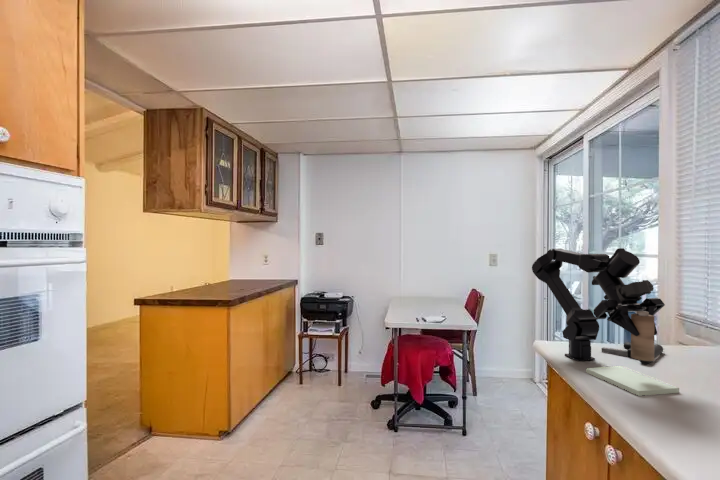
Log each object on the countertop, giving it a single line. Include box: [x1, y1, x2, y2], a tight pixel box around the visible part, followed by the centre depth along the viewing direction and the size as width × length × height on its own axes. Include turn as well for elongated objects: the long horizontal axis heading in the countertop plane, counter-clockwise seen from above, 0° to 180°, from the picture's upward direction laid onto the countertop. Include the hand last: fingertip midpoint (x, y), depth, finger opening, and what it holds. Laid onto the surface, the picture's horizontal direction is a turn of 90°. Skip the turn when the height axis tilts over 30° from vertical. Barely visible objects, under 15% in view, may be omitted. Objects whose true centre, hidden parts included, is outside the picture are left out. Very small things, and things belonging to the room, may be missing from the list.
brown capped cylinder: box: [630, 311, 656, 362], centre depth 111 cm, size 5×5×12 cm
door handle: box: [601, 341, 664, 365], centre depth 138 cm, size 3×20×16 cm
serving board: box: [585, 365, 680, 397], centre depth 112 cm, size 18×12×1 cm, turn 10°
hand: (646, 334), depth 109 cm, fingers closed on brown capped cylinder, 5 cm apart
